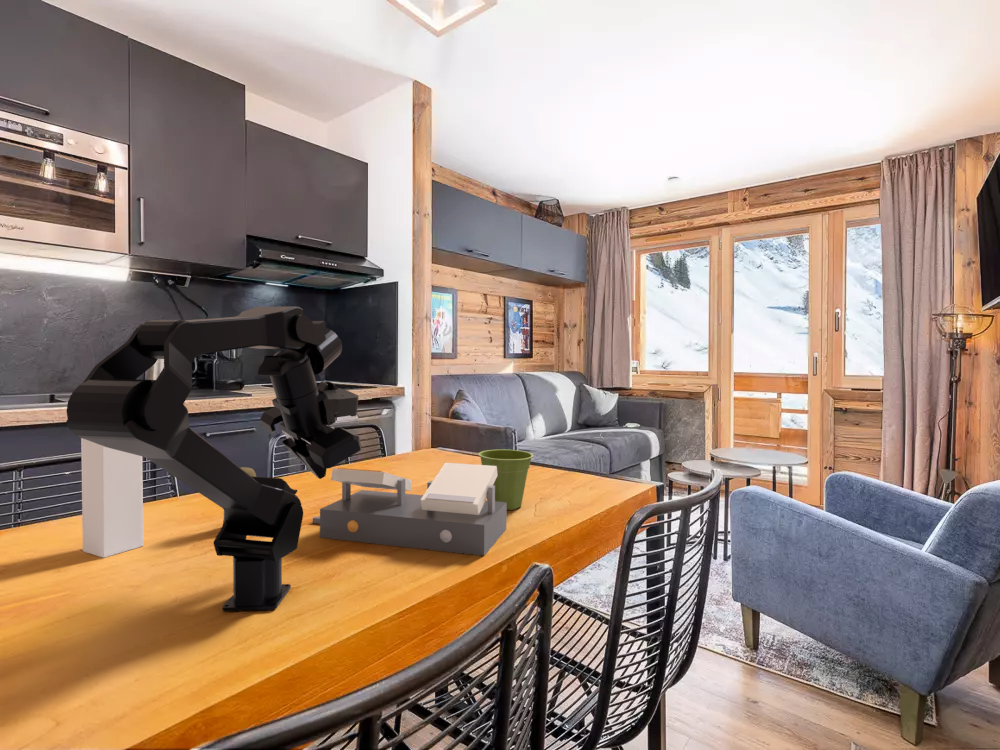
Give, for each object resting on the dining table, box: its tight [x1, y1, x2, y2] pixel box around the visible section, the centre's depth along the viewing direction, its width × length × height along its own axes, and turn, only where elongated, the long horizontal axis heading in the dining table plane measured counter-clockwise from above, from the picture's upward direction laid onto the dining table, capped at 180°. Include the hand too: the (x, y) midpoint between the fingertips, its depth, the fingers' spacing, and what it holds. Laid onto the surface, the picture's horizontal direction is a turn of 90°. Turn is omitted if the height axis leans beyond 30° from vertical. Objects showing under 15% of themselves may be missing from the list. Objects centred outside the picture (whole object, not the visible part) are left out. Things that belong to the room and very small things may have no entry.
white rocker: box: [421, 462, 498, 515], centre depth 93 cm, size 12×10×2 cm
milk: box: [80, 438, 144, 559], centre depth 86 cm, size 6×6×22 cm
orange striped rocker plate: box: [330, 467, 413, 492], centre depth 97 cm, size 12×10×2 cm
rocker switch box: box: [312, 478, 508, 557], centre depth 96 cm, size 14×36×10 cm, turn 75°
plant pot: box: [478, 449, 534, 511], centre depth 113 cm, size 12×12×11 cm
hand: (321, 476), depth 83 cm, fingers closed
